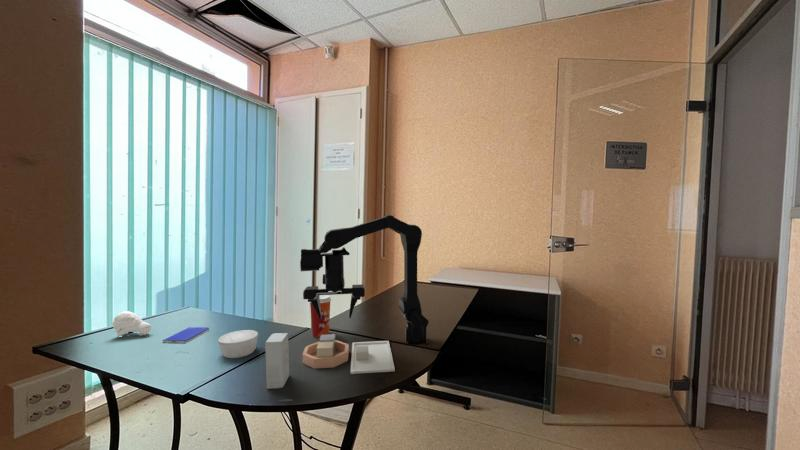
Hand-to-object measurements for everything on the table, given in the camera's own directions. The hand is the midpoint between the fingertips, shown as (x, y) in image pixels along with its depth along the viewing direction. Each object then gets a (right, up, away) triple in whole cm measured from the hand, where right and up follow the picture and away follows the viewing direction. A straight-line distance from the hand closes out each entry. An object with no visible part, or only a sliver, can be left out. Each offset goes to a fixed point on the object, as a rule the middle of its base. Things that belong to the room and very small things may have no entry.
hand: (335, 318), depth 104 cm
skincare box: (-11, -11, -19) cm, 25 cm away
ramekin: (-30, -11, 0) cm, 32 cm away
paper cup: (-8, -10, +13) cm, 19 cm away
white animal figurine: (-75, -10, +15) cm, 78 cm away
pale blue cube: (-2, -10, -3) cm, 10 cm away
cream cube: (-1, -10, -9) cm, 13 cm away
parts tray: (+12, -11, -5) cm, 17 cm away
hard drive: (-56, -11, +14) cm, 58 cm away
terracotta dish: (-2, -11, -5) cm, 12 cm away
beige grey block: (+9, -10, -5) cm, 15 cm away
